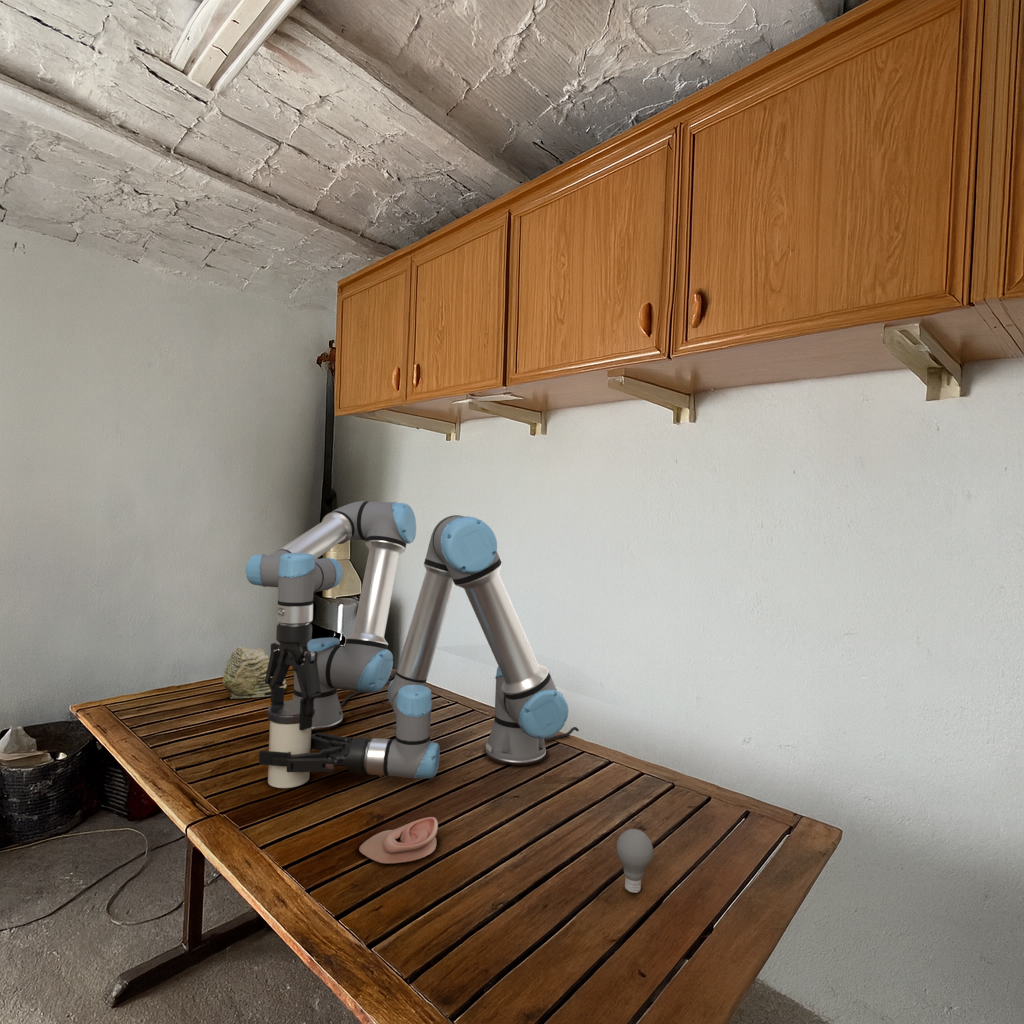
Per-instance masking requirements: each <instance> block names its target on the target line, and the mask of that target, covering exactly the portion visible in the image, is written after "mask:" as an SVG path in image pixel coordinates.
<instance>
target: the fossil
mask: <svg viewBox="0 0 1024 1024" xmlns="http://www.w3.org/2000/svg"><path fill="white" fill-rule="evenodd" d="M269 659H270V655H268V654H267V653H266V652H265V650H264V649H263V648H260V647H258V648H251V647H247V646H246V647H245V646H238V647H237V648H236V649H235V650H233V651H232V653H231V656H230V657H229V659H228V660H227V663H226V666H225V668H224V671H223V675H222V676H223V677H222V685H223V687H224V688H225V690H226V691H228V693H229V698H230V699H250V698H264V697H271V689H270V687H269V684H265V678H266V673H267V668H268V664H269ZM271 678H273V677H271ZM283 684H284V686H281V687H283V688H284V692H285V691H286V689H287V687H288V686H287V680H286V678H285V679H284V681H283ZM281 687H280V688H281Z"/></svg>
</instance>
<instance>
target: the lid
mask: <svg viewBox="0 0 1024 1024" xmlns="http://www.w3.org/2000/svg"><path fill="white" fill-rule="evenodd" d="M266 715H267V716H266V717H267V719H268V720H269V722H270V721H272V722H275V723H284V724H289V723H298V722H300V700H292V699H291V700H284V701H283V702H279V703H275V704H273V705H271V704H270V706H268V707H267V713H266ZM314 715H315V706H314V710H313V714H312V717H313V716H314Z"/></svg>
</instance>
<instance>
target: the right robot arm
mask: <svg viewBox="0 0 1024 1024" xmlns="http://www.w3.org/2000/svg"><path fill="white" fill-rule="evenodd" d="M430 535H431V536H430V539H429V543H428V547H427V551H426V554H425V558H424V562H423V567H424V568H425V573H424V577H423V580H422V584H421V587H420V590H419V594H418V597H417V600H416V604H415V607H414V611H413V614H412V618H411V621H410V624H409V627H408V631H407V635H406V638H405V642H404V644H403V648H402V651H401V654H400V659H399V662H398V665H397V668H396V671H397V672H396V671H395V672H396V675H395V676H394V677H393V678H392V679H391V682H390V683H389V685H388V688H387V698H388V702H389V704H390V706H391V708H392V710H393V713H394V716H395V739H390V738H377V737H373V738H372V739H371V738H370V737H361V736H354V737H352V736H339V735H335V734H330V733H323V732H314V735H313V734H311V751H312V750H315V752H311V753H305V754H296V755H291V752H288V753H287V752H273V751H269V750H260V751H259V753H258V765H260V766H268V765H274V766H287V772H310V773H321V772H323V773H329V774H330V773H335V768H336V767H344V766H345V767H346V769H347V771H348V773H350V774H356V775H366V773H367V775H372V776H378V777H379V778H382V777H384V776H386V777H399V778H409V779H414V780H417V779H420V780H421V779H424V780H426V779H433V778H434V777H436V775H437V773H438V771H439V765H440V759H441V750H440V749H441V748H440V745H439V743H437V742H433V741H431V722H432V708H433V702H432V690H431V689H430V688H429V687H428V686H426V685H427V681H428V676H429V673H430V670H431V666H432V663H433V660H434V656H435V653H436V650H437V646H438V643H439V640H440V636H441V632H442V630H443V625H444V623H445V619H446V616H447V612H448V609H449V606H450V603H451V602H450V601H451V598H452V595H453V593H454V589H455V586H456V587H459V588H462V589H463V590H464V592H465V594H466V597H467V598H468V601H469V603H470V605H471V608H472V610H473V612H474V614H475V616H476V619H477V621H478V623H479V625H480V628H481V630H482V632H483V634H484V637H485V639H486V641H487V644H488V646H489V648H490V650H491V652H492V655H493V657H494V659H495V662H496V664H497V667H496V675H495V678H494V679H495V692H494V694H495V695H494V697H495V698H494V719H493V725H492V728H491V730H490V733H489V735H488V738H487V741H486V744H485V755H486V756H487V758H488V759H490V760H491V761H493V762H495V763H498V764H502V765H505V766H511V767H512V766H514V767H523V766H525V767H526V766H532V765H535V764H539V763H541V762H542V761H543V760H545V758H546V756H547V747H546V742H550V741H554V740H556V739H561V738H566V737H569V736H570V735H571V734H572V733H573V732H574V731H575V732H580V730H579V729H580V728H578V727H577V726H574V727H571V729H569V730H568V731H567V732H565V733H561V734H558V733H559V732H560V731H561V730H562V729H563V728H564V726H565V725H566V722H567V720H568V717H569V704H568V702H567V699H566V698H565V696H564V694H563V693H562V692H560V691H559V690H558V688H557V687H556V684H555V682H554V680H553V678H552V676H551V673H550V671H549V669H548V667H546V665H542V664H540V663H539V662H538V660H537V658H536V656H535V653H534V650H533V649H532V646H531V643H530V642H529V639H528V637H527V635H526V631H525V630H524V628H523V626H522V623H521V621H520V618H519V616H518V613H517V611H516V609H515V607H514V605H513V602H512V600H511V598H510V596H509V593H508V591H507V589H506V586H505V584H504V582H503V579H502V577H501V574H500V571H501V569H502V565H503V562H502V560H501V558H500V555H499V553H498V541H497V537H496V534H495V532H494V531H493V529H492V528H491V527H490V526H489V525H488V524H487V523H486V522H484V521H483V520H482V519H479V518H477V517H475V516H465V515H459V514H454V515H453V514H452V515H448V516H447V517H444V518H442V519H441V520H440V521H439V522H438V523H437V524H436V525H435V527H434V528H433V530H432V532H431V534H430Z"/></svg>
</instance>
